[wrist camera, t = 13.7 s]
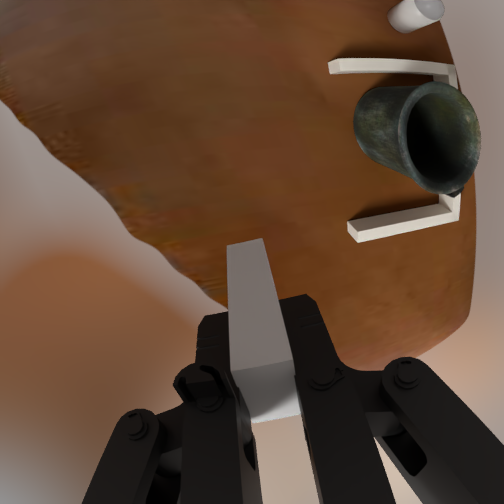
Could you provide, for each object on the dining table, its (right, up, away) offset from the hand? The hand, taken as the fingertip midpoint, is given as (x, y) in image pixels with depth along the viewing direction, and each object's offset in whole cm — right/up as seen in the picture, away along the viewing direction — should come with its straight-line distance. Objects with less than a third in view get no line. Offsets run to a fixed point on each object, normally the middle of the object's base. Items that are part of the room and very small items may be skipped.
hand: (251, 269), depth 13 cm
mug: (+18, +16, +20) cm, 31 cm away
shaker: (+19, +30, +13) cm, 38 cm away
